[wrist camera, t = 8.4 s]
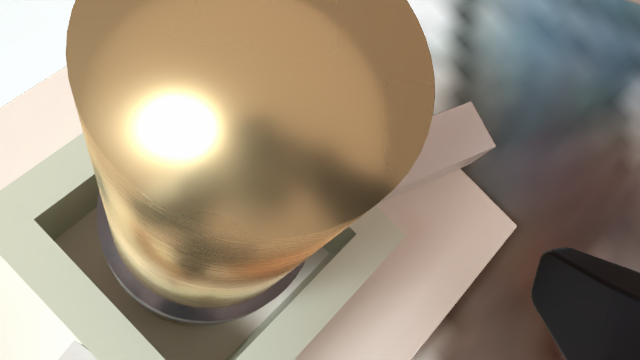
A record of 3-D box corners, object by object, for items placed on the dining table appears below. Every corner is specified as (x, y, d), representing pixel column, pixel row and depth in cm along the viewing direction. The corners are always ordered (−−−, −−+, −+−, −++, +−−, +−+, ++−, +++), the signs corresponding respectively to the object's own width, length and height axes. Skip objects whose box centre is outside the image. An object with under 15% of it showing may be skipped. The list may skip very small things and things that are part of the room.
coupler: (310, 254, 21) (522, 87, 9) (191, 373, 18) (261, 361, 7) (202, 142, 21) (268, -165, 9) (72, 245, 19) (-67, 14, 7)
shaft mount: (517, 214, 25) (580, 185, 21) (77, 760, 15) (57, 875, 12) (261, -45, 26) (280, -116, 22) (-311, 325, 16) (-443, 308, 13)
